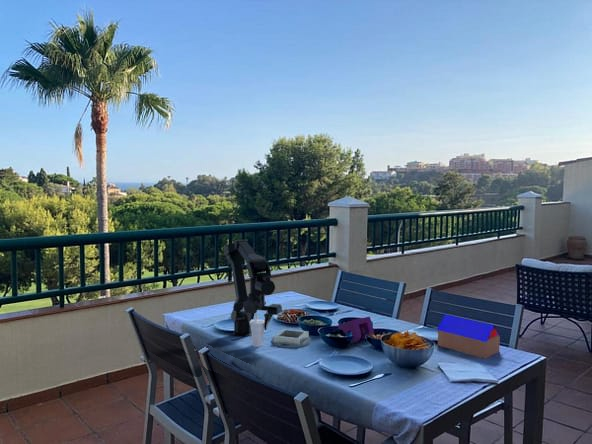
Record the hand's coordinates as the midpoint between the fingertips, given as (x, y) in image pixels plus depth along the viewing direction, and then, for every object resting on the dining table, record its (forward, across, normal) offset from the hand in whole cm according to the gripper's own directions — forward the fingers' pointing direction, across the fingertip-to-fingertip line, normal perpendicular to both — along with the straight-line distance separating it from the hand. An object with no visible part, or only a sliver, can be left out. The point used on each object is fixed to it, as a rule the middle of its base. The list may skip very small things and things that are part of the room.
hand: (257, 329), depth 181 cm
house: (+7, +78, +24) cm, 82 cm away
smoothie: (+7, 0, 0) cm, 7 cm away
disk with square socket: (+6, +11, +9) cm, 16 cm away
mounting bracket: (+7, +32, +23) cm, 40 cm away
